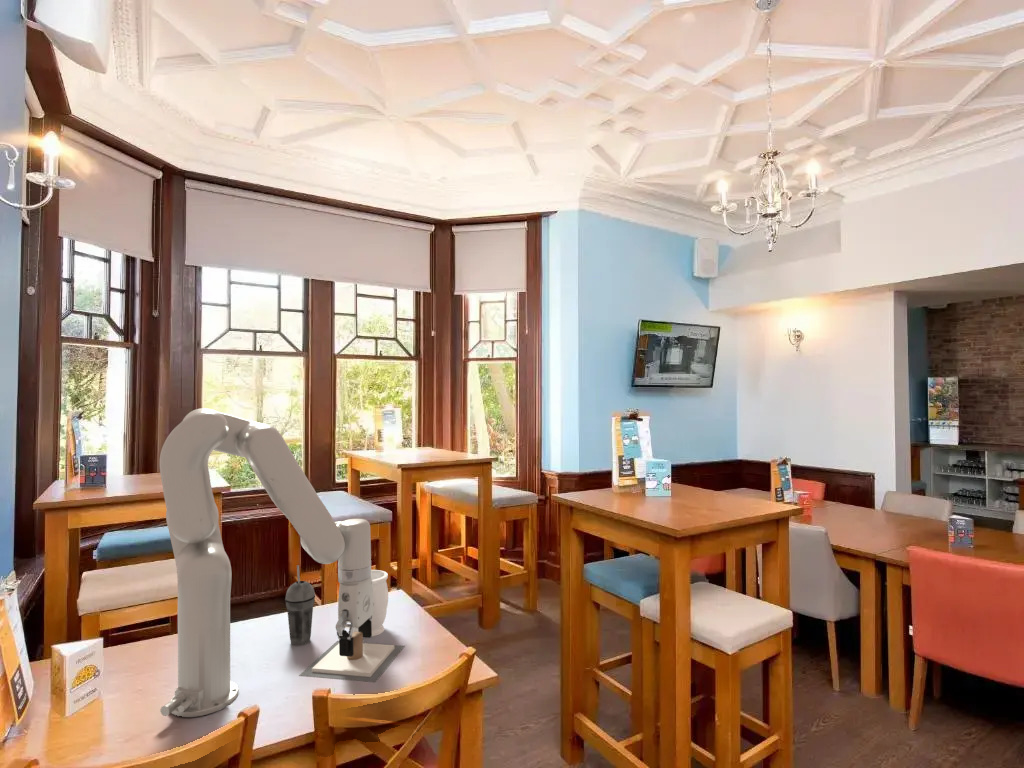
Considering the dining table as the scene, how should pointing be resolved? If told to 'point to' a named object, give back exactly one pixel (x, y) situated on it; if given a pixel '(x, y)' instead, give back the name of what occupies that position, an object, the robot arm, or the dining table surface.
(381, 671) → the mat
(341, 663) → the lid
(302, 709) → the dining table surface
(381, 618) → the jar
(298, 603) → the beverage cup
